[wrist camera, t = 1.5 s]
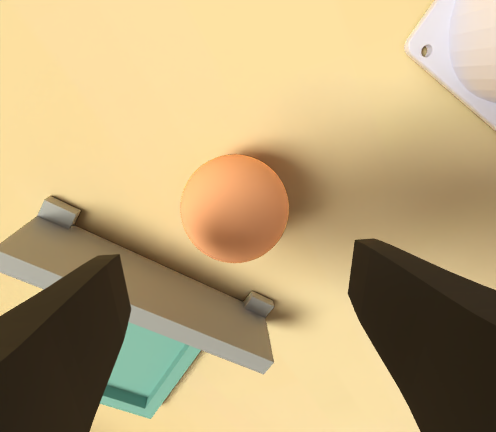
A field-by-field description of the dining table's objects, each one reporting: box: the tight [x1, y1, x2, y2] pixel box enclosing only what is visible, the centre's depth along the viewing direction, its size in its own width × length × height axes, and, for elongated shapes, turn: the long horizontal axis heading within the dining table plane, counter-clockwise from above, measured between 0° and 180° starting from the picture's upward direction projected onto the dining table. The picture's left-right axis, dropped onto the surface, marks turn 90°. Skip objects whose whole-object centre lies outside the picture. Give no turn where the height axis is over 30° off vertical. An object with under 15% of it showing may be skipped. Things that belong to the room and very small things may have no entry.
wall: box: [0, 196, 274, 374], centre depth 17 cm, size 14×3×4 cm, turn 58°
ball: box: [180, 154, 289, 263], centre depth 15 cm, size 5×5×5 cm
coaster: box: [100, 322, 201, 419], centre depth 20 cm, size 9×9×1 cm
